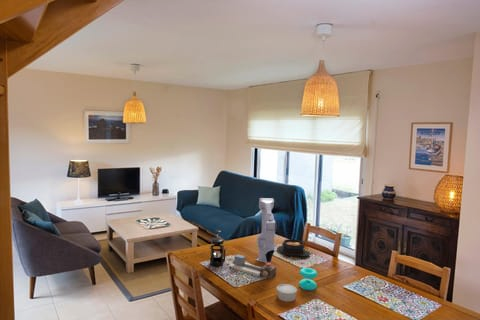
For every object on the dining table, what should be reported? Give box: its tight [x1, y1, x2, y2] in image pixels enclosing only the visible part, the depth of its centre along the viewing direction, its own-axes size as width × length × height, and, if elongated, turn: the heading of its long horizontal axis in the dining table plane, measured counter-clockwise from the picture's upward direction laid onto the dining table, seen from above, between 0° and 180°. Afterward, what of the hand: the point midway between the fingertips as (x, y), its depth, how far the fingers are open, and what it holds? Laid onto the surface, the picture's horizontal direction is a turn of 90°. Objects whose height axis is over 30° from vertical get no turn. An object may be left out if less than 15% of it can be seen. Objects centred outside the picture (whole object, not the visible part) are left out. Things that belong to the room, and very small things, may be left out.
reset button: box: [264, 262, 273, 269], centre depth 205 cm, size 4×4×5 cm
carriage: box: [233, 253, 247, 266], centre depth 216 cm, size 4×6×5 cm, turn 58°
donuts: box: [298, 267, 318, 291], centre depth 191 cm, size 10×10×10 cm
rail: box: [228, 259, 262, 277], centre depth 213 cm, size 10×22×3 cm, turn 58°
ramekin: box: [275, 283, 298, 303], centre depth 178 cm, size 11×11×5 cm
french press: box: [209, 229, 227, 268], centre depth 218 cm, size 12×9×23 cm
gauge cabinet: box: [259, 264, 277, 280], centre depth 205 cm, size 8×7×5 cm
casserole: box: [276, 238, 311, 257], centre depth 245 cm, size 25×19×8 cm
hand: (268, 261), depth 204 cm, fingers closed
